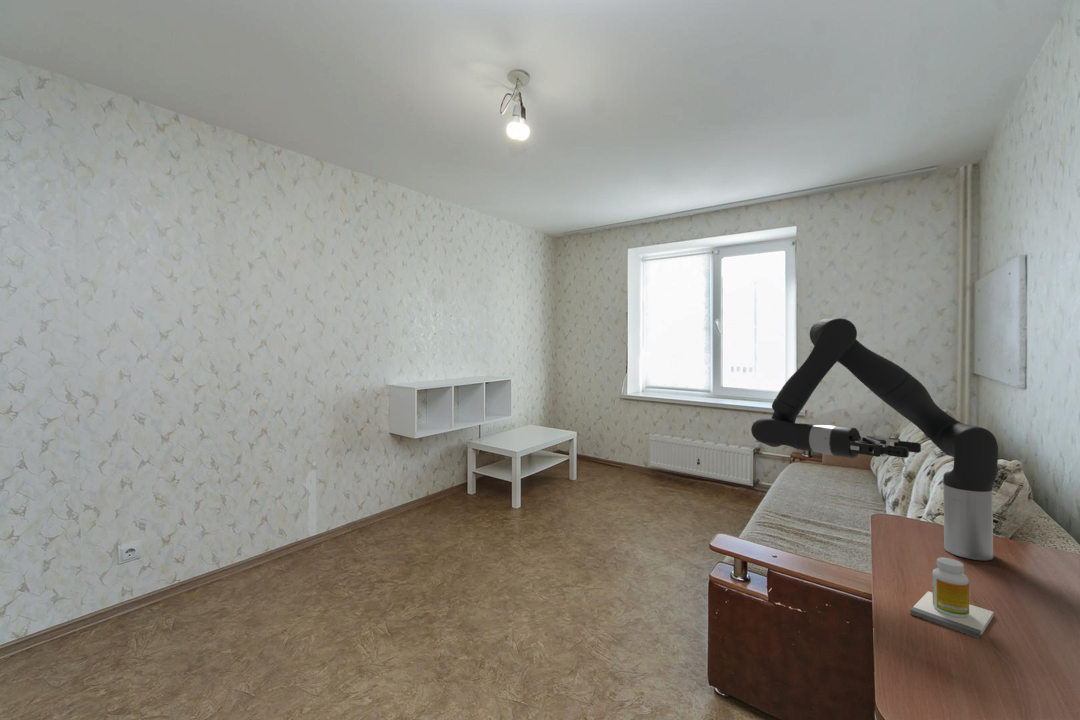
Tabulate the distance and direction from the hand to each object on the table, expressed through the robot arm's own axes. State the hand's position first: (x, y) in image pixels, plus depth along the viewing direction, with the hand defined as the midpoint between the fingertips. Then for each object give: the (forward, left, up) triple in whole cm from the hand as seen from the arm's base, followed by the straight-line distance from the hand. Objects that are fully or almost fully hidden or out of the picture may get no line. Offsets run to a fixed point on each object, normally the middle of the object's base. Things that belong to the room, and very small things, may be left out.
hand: (914, 450), depth 102 cm
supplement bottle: (+10, +8, -29) cm, 32 cm away
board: (+10, +8, -30) cm, 33 cm away
